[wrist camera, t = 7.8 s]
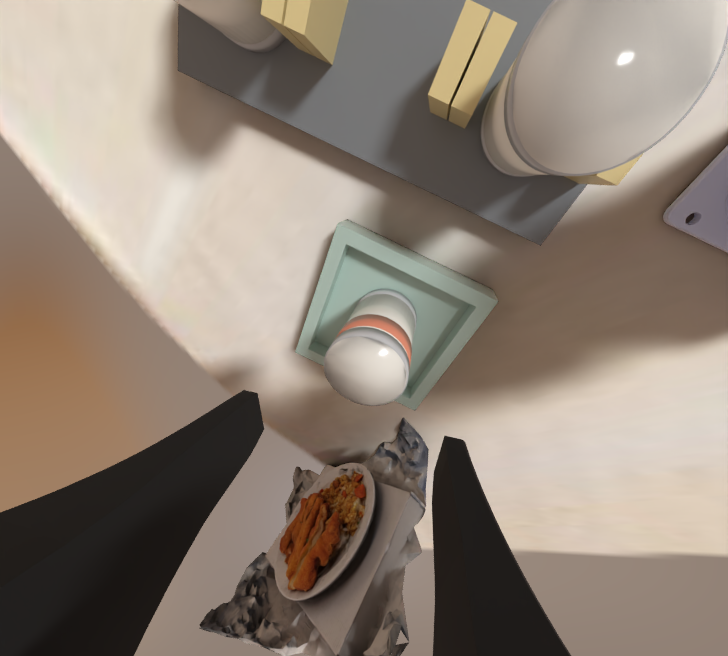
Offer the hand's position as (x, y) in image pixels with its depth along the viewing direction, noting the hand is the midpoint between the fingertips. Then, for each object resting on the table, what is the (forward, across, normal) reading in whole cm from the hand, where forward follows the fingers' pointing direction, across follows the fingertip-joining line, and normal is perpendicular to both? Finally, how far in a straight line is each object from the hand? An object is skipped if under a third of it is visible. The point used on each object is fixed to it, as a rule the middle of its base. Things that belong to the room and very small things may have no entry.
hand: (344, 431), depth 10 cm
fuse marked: (+9, 0, 0) cm, 9 cm away
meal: (+10, +2, +15) cm, 18 cm away
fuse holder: (+10, +1, -13) cm, 16 cm away
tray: (+10, 0, 0) cm, 10 cm away
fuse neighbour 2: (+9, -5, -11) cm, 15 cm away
